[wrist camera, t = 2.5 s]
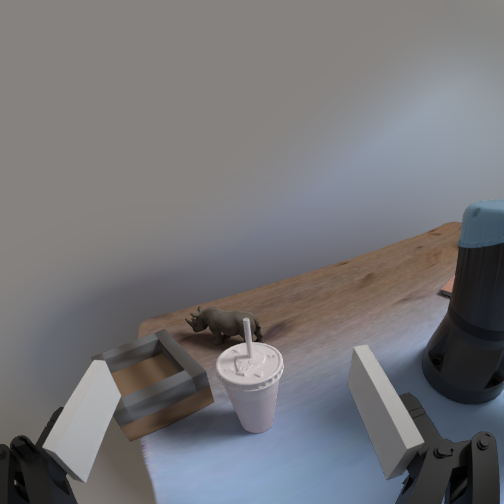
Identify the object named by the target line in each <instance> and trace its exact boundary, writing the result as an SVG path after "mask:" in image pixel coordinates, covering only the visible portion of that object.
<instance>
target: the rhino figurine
mask: <svg viewBox="0 0 504 504" xmlns="http://www.w3.org/2000/svg"><path fill="white" fill-rule="evenodd" d="M198 311H199V312H198V313H197V314H194V313H190V314H191V316H192V317H193V318H195V317H196V319H193V318H191V319H192V321H193V322H191V321H189V320H187V319H186V318H185V320H186V322H187V323H188V324H189V325H190V326H191V327H192V328H193V331H194V332H200V331H203V330H205V329H206V328H207V327H208V326H209V328H210V330H211V332H212V333H213V334H214V335H215V337H216V339H215V340H214V344H216V345H218V344H221V343H222V342H223V340H222V335H221V332H223V333H224V337H225V338H229V337H231V336H236V335H239V334H240V336H241V337H242V338H244V343H246V340H245V332H244V324H243V319H244V318H249V321H250V330H251V338H252V336H253V334H255V335H256V337H257V339H256V342H258V343H265V341H264V339H263V334H262V332H261V331H260V329H261V327H260V326H259V322H258V319H257V317H256V316H255V315H254V314H252V313H250V312H241V311H233V312H230V311H226V310H222V309H219V308H215V307H210V308H207V309H205V310H203V311H202V308H201V307H198ZM252 342H253V339H252Z"/></svg>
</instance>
